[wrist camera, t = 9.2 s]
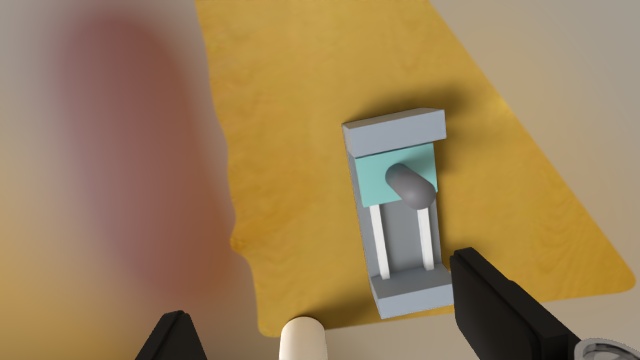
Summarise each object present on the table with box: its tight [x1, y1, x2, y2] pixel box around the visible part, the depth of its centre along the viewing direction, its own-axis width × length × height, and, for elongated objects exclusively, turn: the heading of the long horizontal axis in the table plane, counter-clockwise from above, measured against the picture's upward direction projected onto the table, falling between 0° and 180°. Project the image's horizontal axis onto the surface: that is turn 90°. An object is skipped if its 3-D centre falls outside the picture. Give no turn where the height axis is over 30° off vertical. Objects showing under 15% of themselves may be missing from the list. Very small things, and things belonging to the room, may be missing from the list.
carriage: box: [354, 142, 438, 210], centre depth 32 cm, size 6×9×8 cm, turn 101°
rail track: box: [342, 107, 454, 319], centre depth 37 cm, size 24×10×6 cm, turn 11°
